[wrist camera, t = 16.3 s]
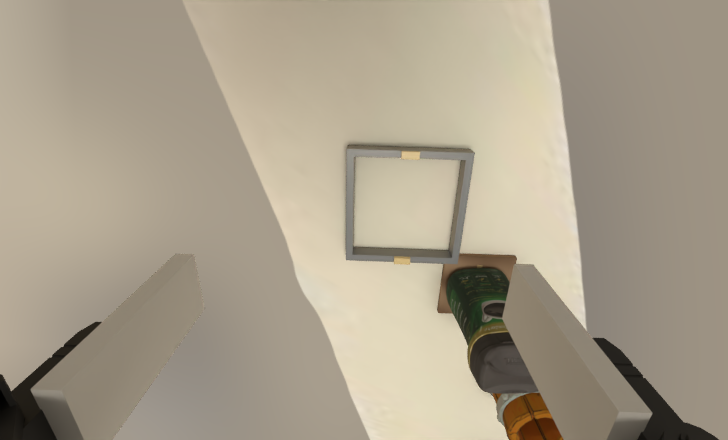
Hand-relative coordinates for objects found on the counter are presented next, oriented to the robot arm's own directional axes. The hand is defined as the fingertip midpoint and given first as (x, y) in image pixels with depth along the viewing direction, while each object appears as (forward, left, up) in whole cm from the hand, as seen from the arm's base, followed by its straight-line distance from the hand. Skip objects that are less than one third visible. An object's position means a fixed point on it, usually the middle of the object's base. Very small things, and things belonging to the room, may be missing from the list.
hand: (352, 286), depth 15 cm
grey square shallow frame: (+10, +6, -37) cm, 38 cm away
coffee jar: (+23, +18, -36) cm, 47 cm away
